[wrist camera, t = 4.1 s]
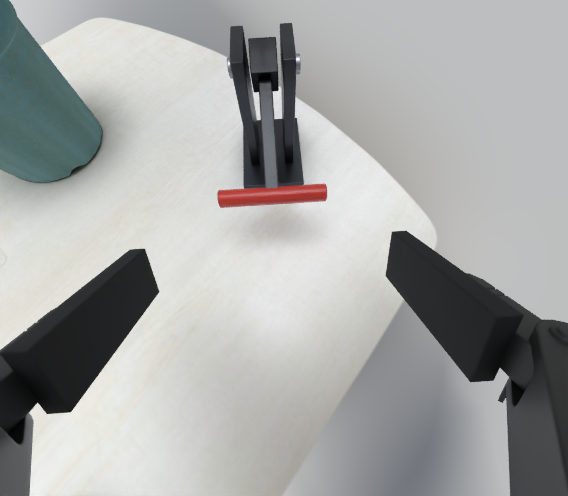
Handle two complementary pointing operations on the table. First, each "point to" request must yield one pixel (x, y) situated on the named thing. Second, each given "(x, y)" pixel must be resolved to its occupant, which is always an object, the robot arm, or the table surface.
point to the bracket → (284, 127)
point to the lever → (268, 138)
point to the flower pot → (39, 110)
